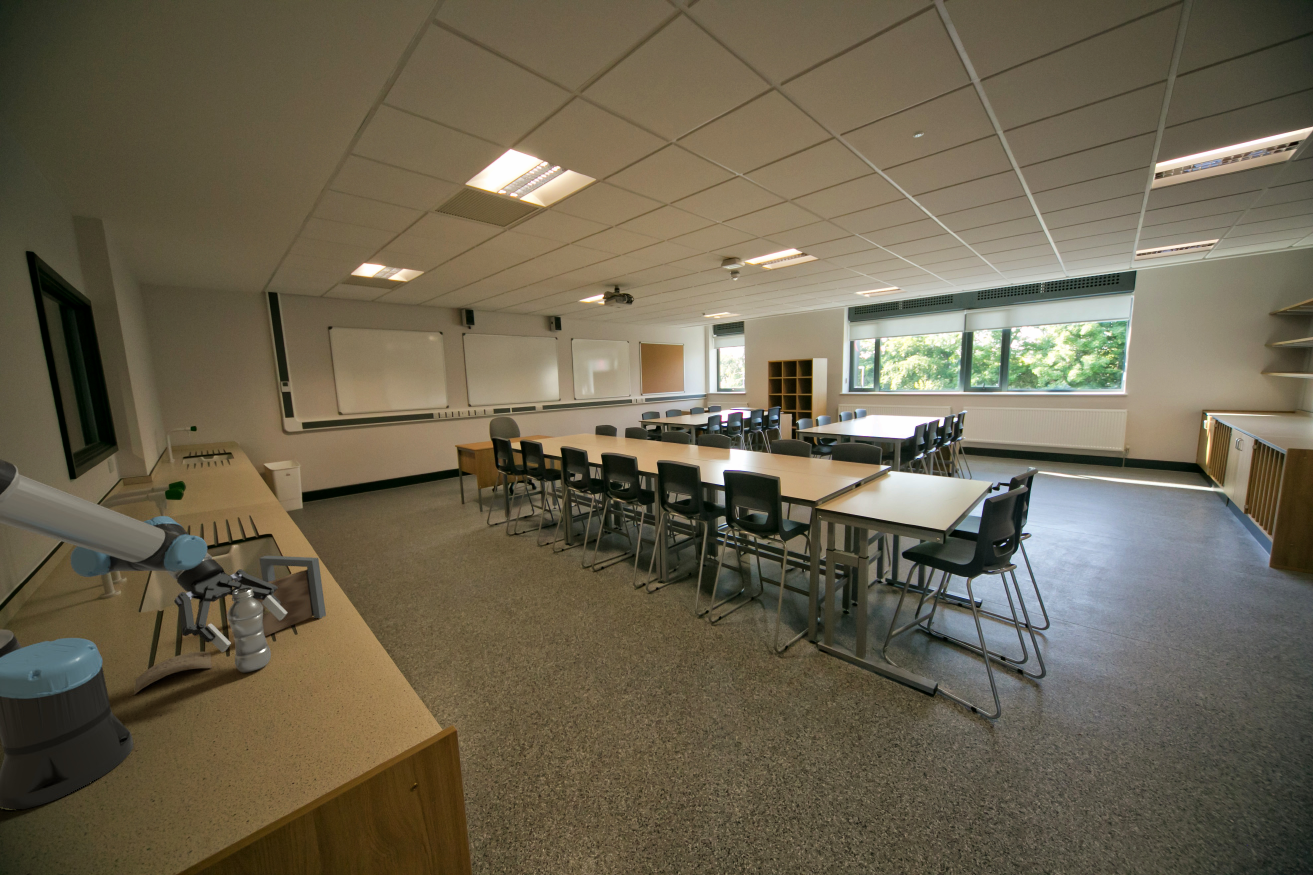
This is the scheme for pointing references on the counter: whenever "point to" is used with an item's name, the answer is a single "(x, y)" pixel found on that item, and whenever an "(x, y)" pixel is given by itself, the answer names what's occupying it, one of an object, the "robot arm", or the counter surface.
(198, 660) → the clay tablet
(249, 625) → the silver metal bottle
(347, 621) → the counter surface
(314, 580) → the door frame
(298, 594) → the door
